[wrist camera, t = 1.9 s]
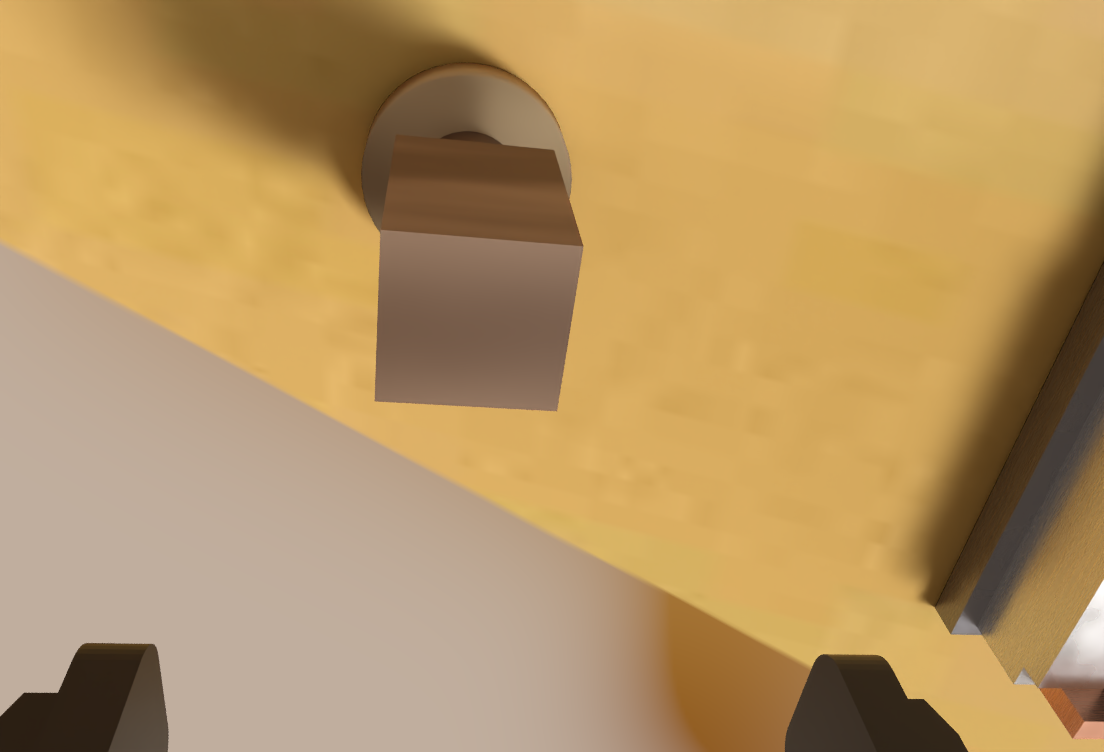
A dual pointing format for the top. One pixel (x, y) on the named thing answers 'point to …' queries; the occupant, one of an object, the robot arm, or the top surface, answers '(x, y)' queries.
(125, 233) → the top surface
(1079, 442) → the track
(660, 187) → the top surface
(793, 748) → the robot arm
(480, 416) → the top surface
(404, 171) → the headed peg
